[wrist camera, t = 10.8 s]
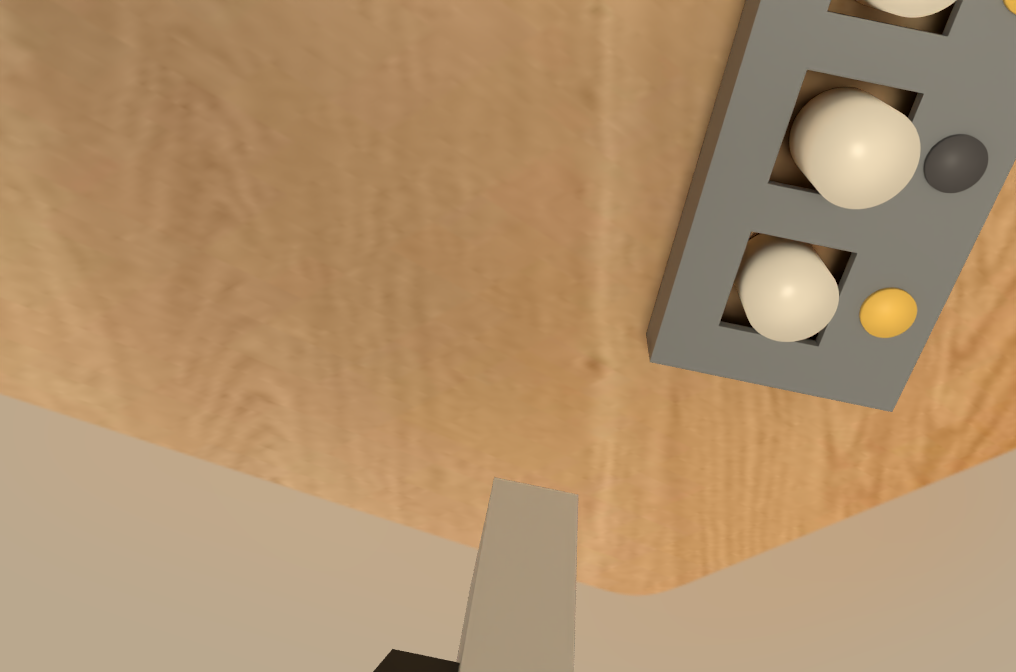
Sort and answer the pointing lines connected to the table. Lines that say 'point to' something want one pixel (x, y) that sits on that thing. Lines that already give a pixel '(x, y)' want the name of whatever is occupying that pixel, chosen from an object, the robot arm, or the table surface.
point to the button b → (854, 147)
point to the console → (812, 219)
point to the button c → (908, 6)
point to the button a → (785, 288)
